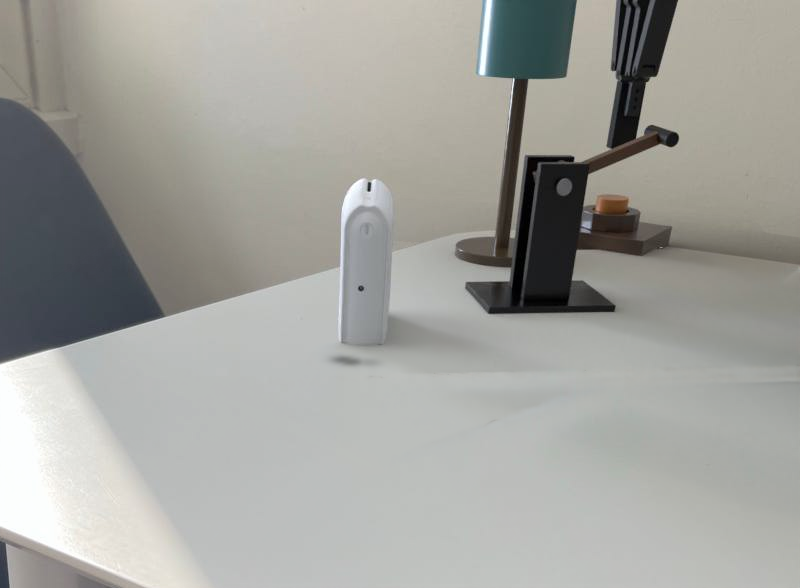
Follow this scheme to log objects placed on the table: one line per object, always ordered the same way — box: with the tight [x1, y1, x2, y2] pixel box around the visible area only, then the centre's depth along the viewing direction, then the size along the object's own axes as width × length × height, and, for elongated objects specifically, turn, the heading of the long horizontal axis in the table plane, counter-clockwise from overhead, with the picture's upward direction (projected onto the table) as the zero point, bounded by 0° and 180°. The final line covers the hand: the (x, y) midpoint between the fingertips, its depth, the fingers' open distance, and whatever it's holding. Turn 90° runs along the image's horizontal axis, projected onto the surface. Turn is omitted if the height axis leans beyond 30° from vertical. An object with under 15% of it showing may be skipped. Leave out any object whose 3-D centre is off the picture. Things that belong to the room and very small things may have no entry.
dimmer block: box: [577, 204, 673, 257], centre depth 116 cm, size 12×10×4 cm
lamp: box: [454, 0, 578, 268], centre depth 103 cm, size 10×10×25 cm
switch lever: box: [533, 124, 680, 183], centre depth 89 cm, size 12×5×2 cm, turn 97°
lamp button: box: [595, 193, 630, 214], centre depth 114 cm, size 4×4×2 cm
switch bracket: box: [464, 154, 616, 315], centre depth 92 cm, size 12×9×13 cm
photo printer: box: [337, 177, 395, 347], centre depth 83 cm, size 10×4×12 cm, turn 177°
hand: (620, 147), depth 111 cm, fingers closed
